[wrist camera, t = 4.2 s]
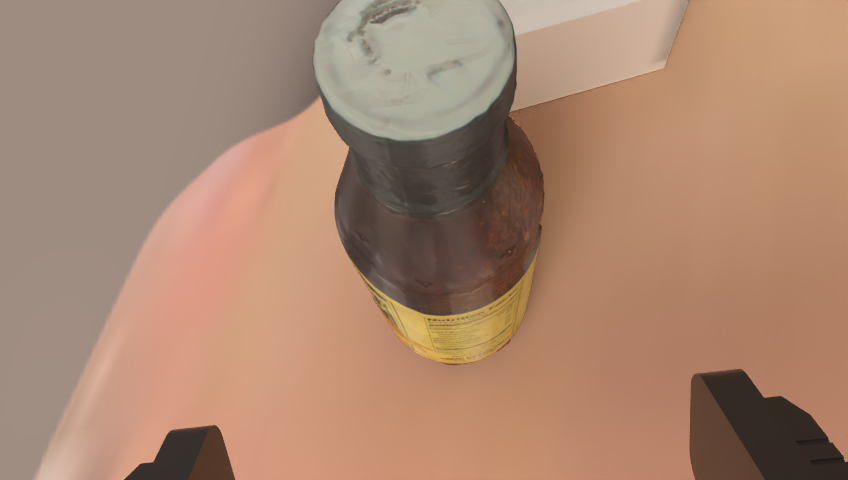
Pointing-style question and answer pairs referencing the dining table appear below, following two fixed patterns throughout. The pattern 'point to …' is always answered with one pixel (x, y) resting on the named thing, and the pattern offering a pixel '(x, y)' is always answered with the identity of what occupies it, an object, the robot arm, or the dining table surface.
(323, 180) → the dining table surface
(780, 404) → the robot arm
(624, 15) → the bottle holder
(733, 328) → the dining table surface
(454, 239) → the sauce bottle
